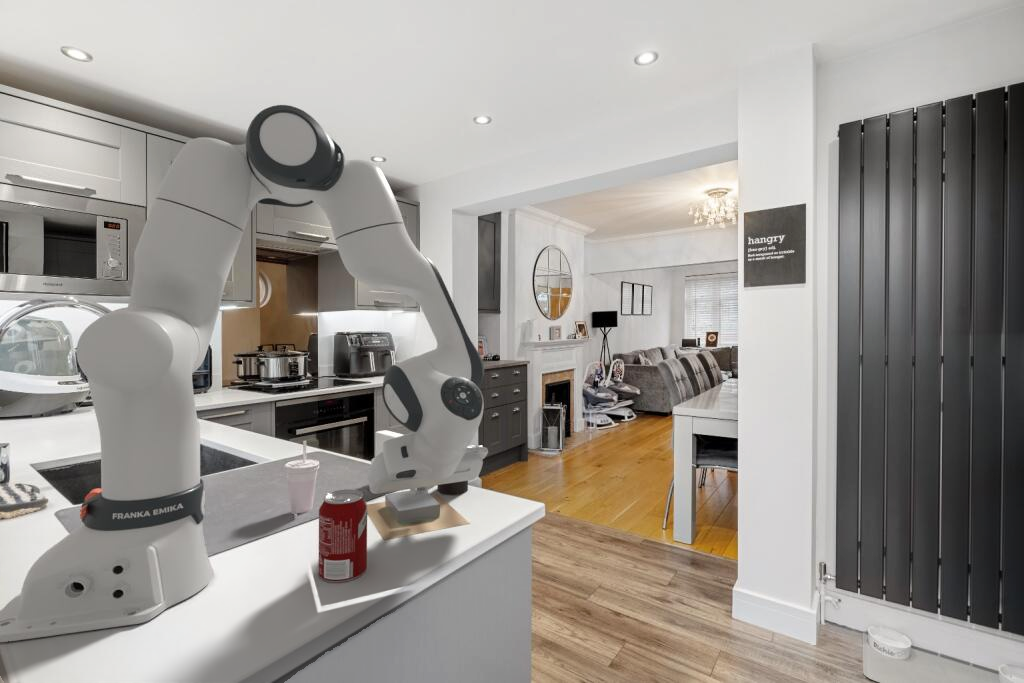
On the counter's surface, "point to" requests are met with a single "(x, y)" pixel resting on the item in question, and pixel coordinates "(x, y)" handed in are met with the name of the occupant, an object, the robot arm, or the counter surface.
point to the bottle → (453, 488)
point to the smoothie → (301, 482)
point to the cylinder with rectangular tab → (383, 440)
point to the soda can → (342, 536)
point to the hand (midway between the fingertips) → (418, 491)
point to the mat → (394, 530)
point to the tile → (411, 506)
